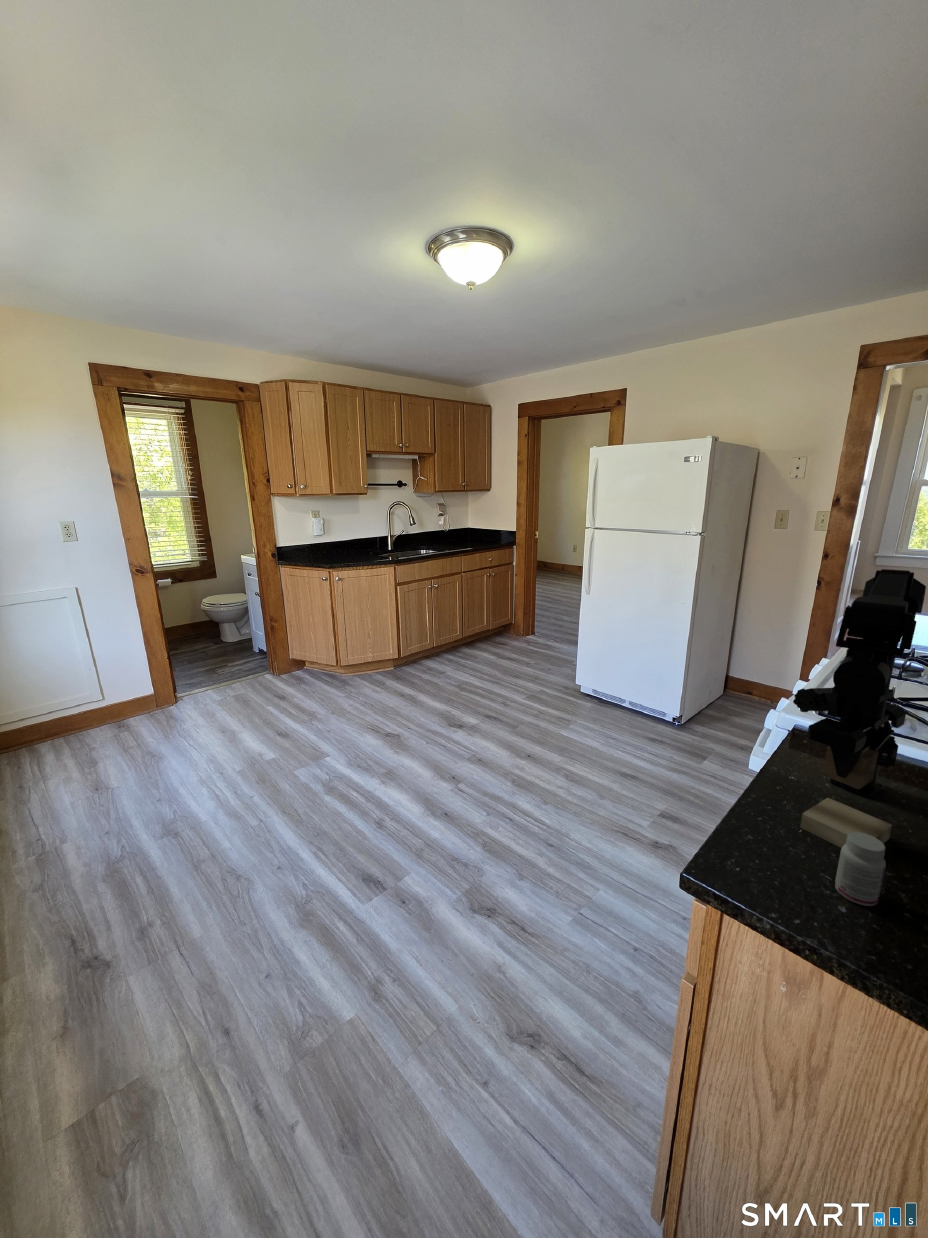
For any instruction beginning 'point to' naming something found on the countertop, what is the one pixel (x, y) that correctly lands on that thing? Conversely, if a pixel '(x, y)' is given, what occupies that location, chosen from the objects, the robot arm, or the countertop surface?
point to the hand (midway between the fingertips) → (849, 772)
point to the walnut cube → (859, 773)
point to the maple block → (842, 822)
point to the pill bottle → (861, 869)
